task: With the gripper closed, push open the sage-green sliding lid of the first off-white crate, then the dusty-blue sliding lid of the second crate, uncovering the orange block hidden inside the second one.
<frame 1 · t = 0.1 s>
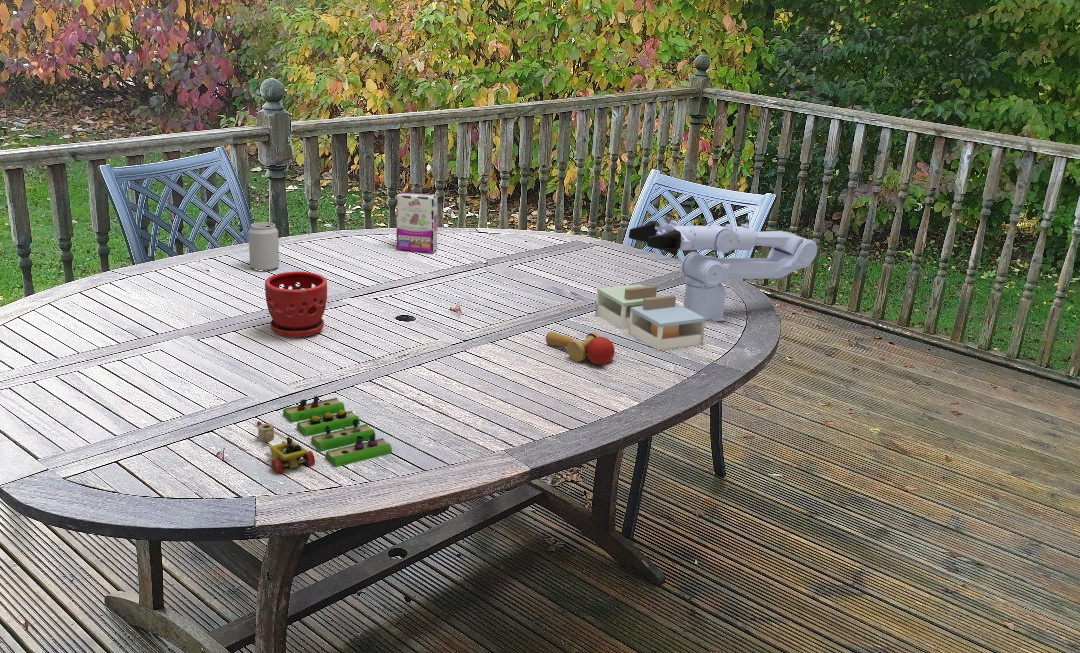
hand: (638, 237, 221), 22 cm above the table, tool horizontal, fingers open, 7 cm apart
can: (264, 269, 258), on the table
candy bar box: (416, 250, 283), on the table
plant pot: (297, 332, 214), on the table
lid a: (632, 290, 230), point 8 cm above the table, slide at 0.0 cm
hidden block: (663, 341, 218), point 1 cm above the table, touching crate b
kendama: (578, 356, 209), on the table
lid b: (668, 309, 218), point 8 cm above the table, slide at 0.0 cm
crate a: (629, 320, 233), on the table
toy garden set: (311, 442, 165), on the table
crate b: (664, 341, 220), on the table
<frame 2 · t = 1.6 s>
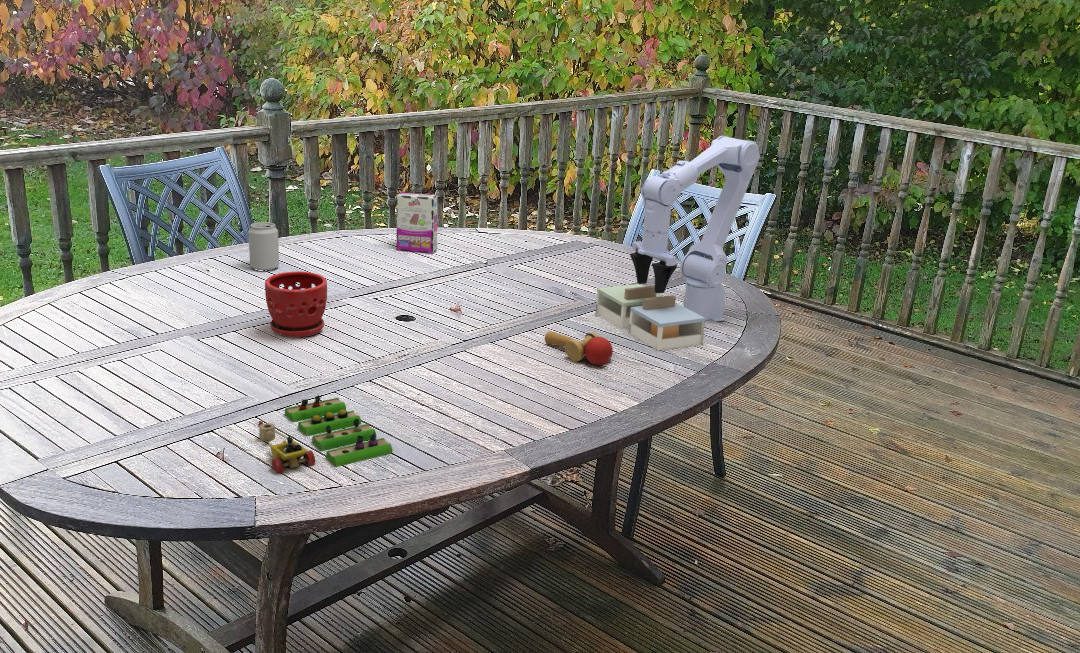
hand: (650, 288, 223), 10 cm above the table, tool pointing down, fingers open, 7 cm apart
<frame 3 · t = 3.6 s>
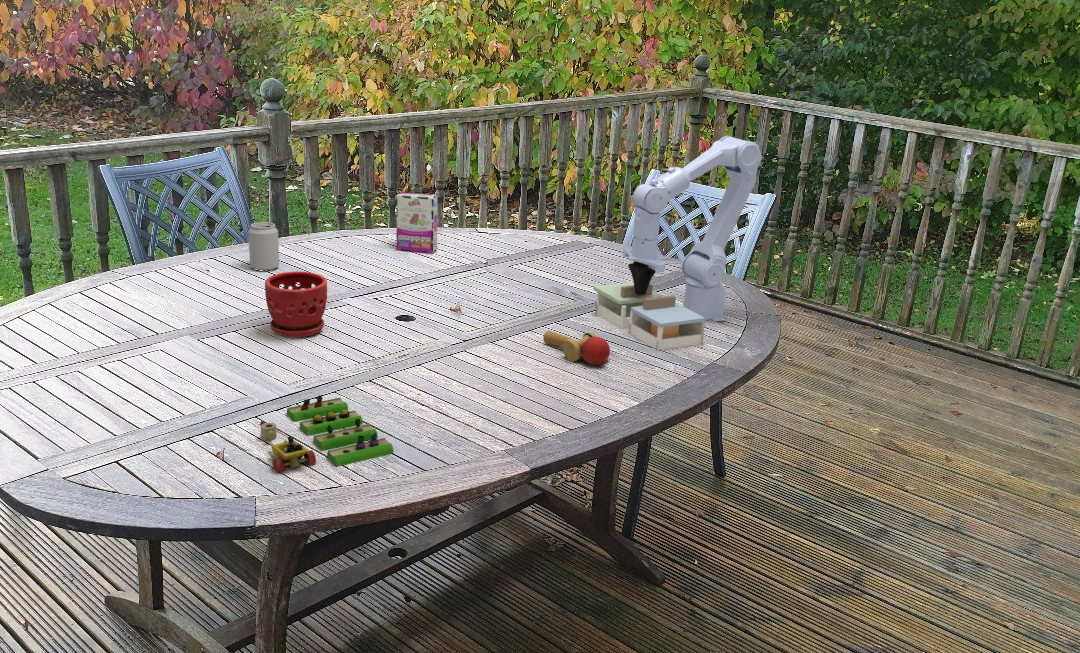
hand: (640, 294, 227), 8 cm above the table, tool pointing down, fingers closed
lid a: (628, 288, 232), point 8 cm above the table, slide at 1.7 cm, touching gripper
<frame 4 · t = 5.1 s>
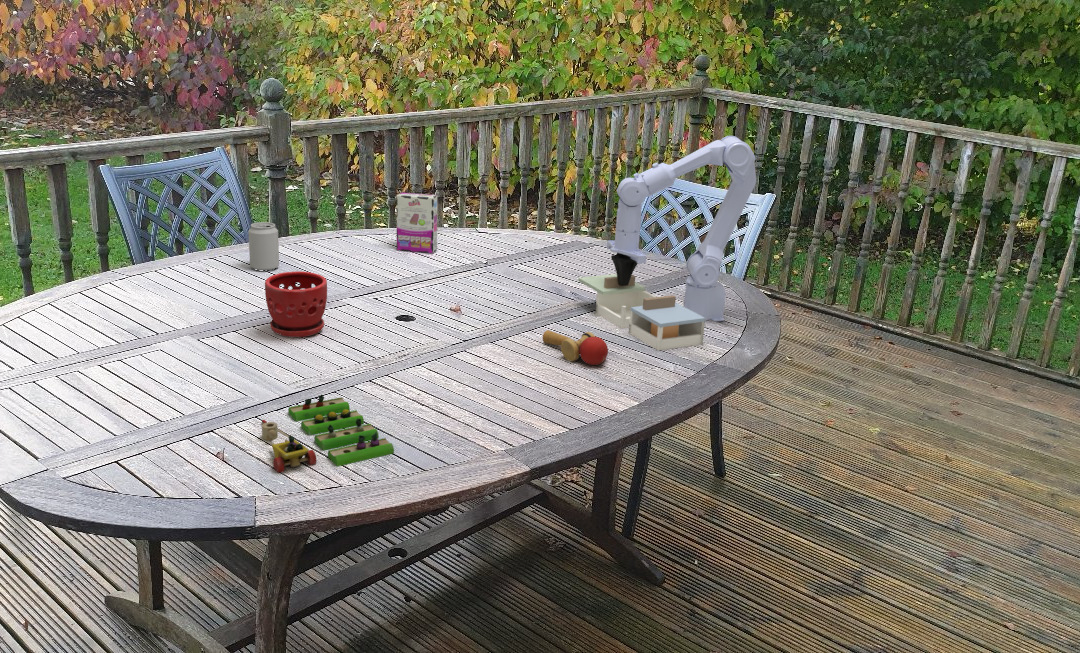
hand: (623, 284, 233), 8 cm above the table, tool pointing down, fingers closed
lid a: (611, 279, 238), point 8 cm above the table, slide at 9.3 cm, touching gripper
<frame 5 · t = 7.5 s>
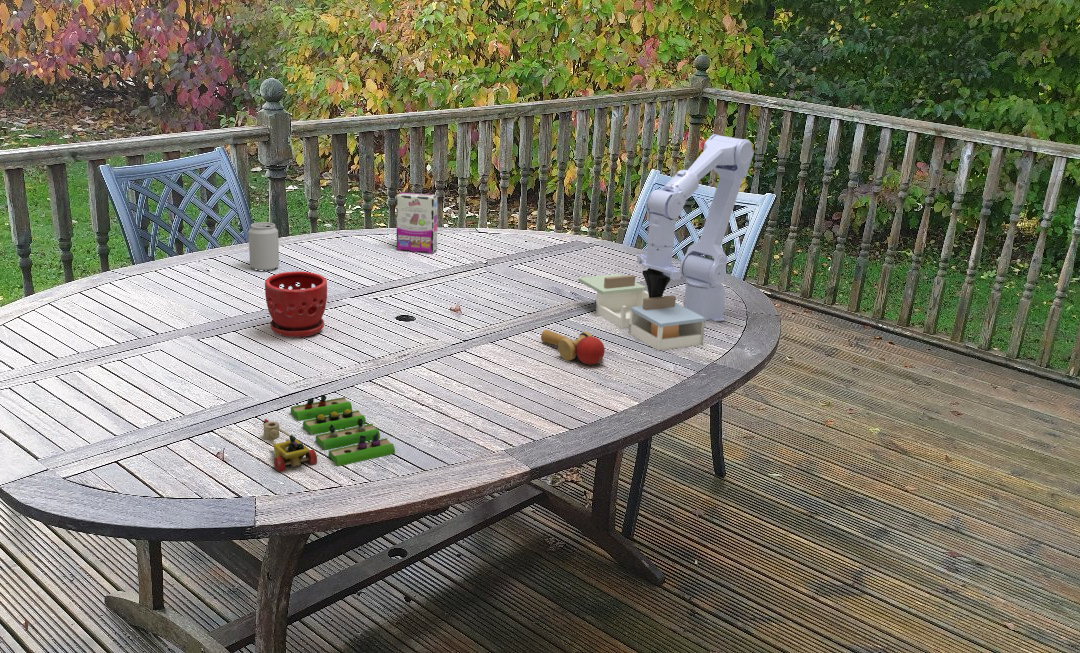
hand: (654, 301, 222), 8 cm above the table, tool pointing down, fingers closed
lid a: (611, 279, 238), point 8 cm above the table, slide at 9.3 cm
lid b: (668, 309, 218), point 8 cm above the table, slide at 0.0 cm, touching gripper
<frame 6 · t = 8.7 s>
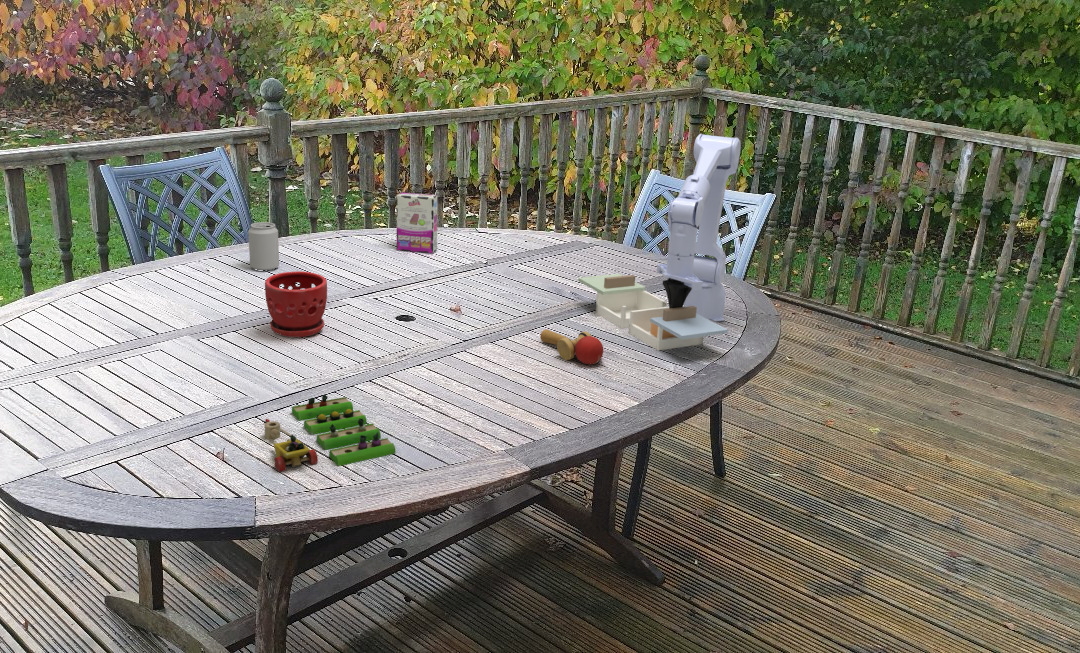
hand: (675, 312, 215), 8 cm above the table, tool pointing down, fingers closed
lid b: (689, 320, 211), point 8 cm above the table, slide at 8.1 cm, touching gripper
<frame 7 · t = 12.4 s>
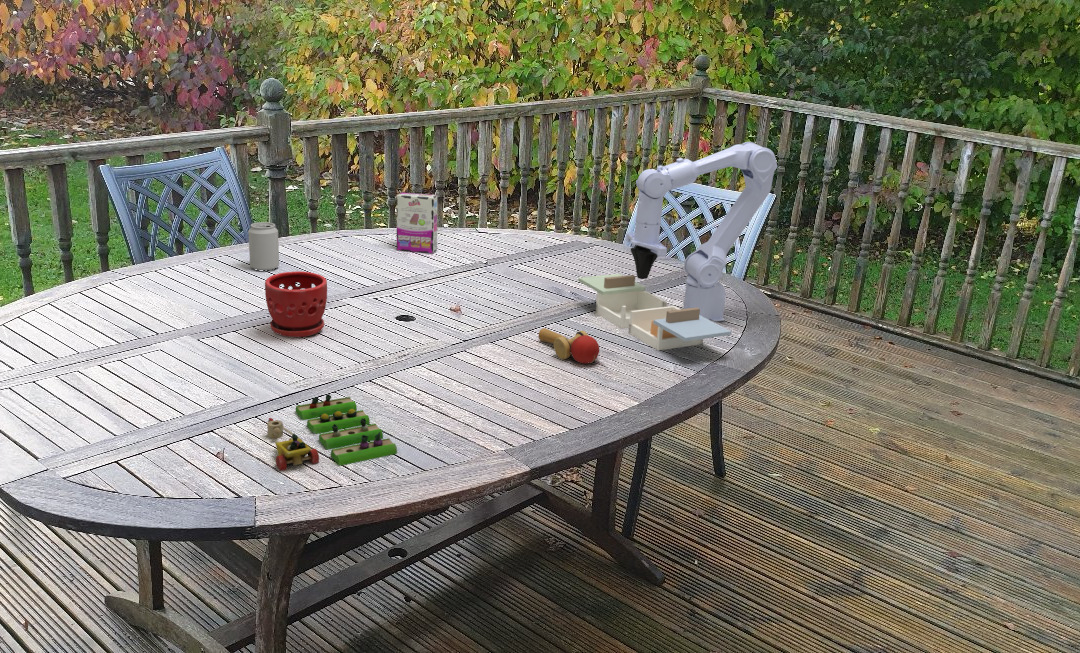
hand: (642, 278, 230), 10 cm above the table, tool pointing down, fingers closed
lid b: (692, 322, 210), point 8 cm above the table, slide at 9.3 cm
at the end: lid a slide at 9.3 cm; lid b slide at 9.3 cm; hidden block inside the target area on the crate b (2.1 cm from its centre), point 0.8 cm above the crate b's base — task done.
